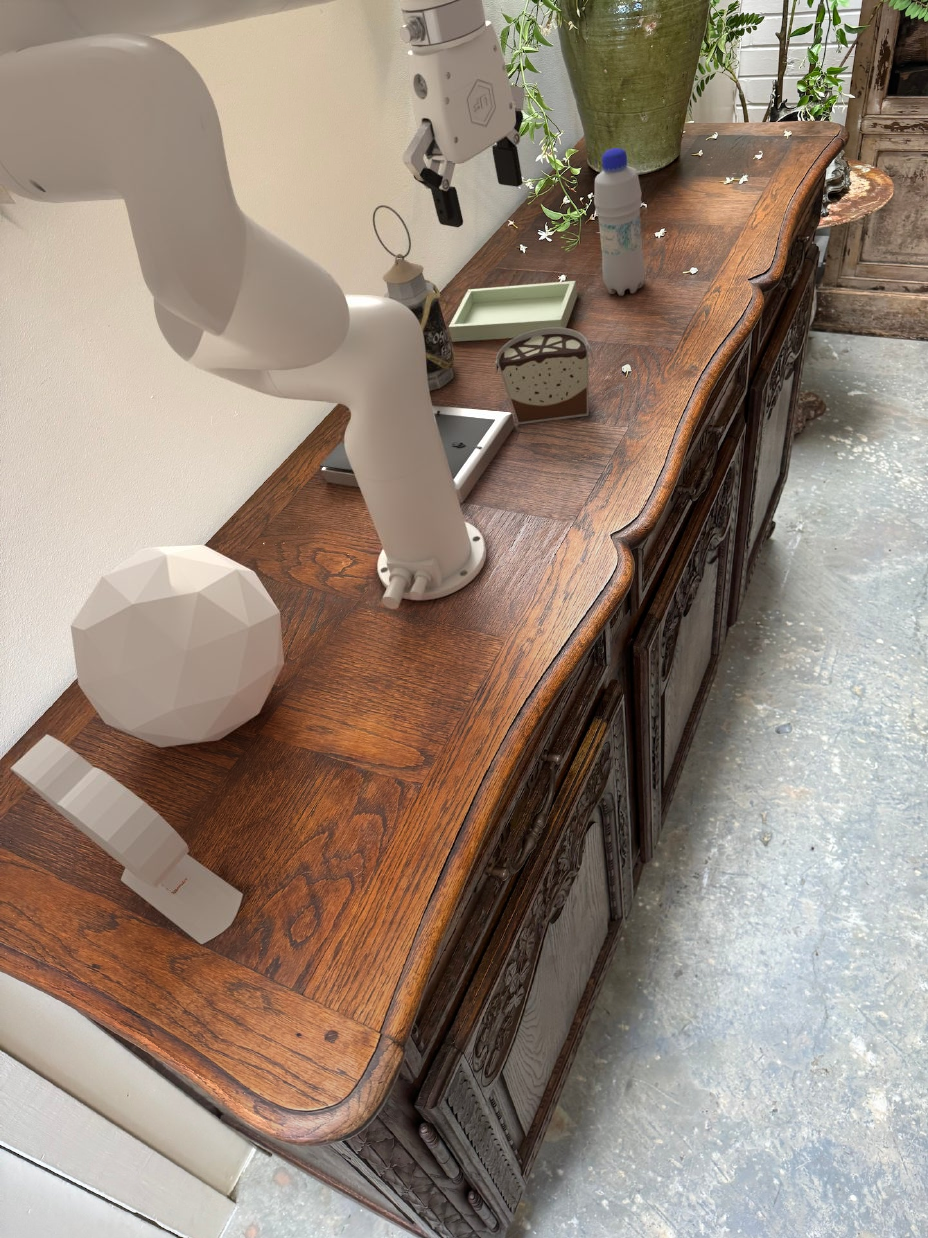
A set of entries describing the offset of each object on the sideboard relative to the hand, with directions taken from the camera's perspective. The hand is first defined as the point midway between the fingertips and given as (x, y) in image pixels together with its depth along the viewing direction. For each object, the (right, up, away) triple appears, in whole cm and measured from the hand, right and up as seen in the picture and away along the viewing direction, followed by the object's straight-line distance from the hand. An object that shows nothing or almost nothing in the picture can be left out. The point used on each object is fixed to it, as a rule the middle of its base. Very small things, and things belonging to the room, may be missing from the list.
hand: (481, 204), depth 91 cm
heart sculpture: (-27, -69, -18) cm, 76 cm away
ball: (-27, -54, -4) cm, 61 cm away
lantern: (-7, -10, +32) cm, 34 cm away
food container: (+10, -17, +20) cm, 28 cm away
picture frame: (-8, -24, +19) cm, 32 cm away
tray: (+6, +1, +39) cm, 39 cm away
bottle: (+23, +6, +38) cm, 44 cm away
